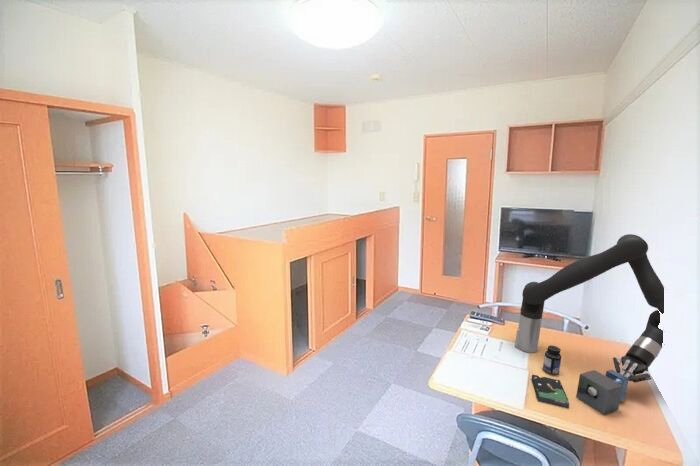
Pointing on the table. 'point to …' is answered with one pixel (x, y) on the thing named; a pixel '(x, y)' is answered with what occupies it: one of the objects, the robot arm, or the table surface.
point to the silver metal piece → (615, 377)
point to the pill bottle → (552, 360)
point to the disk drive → (550, 391)
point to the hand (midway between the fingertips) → (618, 385)
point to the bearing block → (599, 392)
